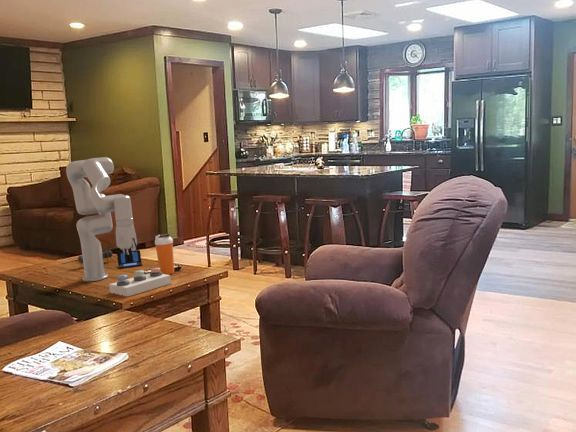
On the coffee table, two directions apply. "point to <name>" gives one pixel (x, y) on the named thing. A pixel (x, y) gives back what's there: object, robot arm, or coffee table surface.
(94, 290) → the coffee table surface
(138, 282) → the button panel
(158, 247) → the shaker bottle
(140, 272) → the button sage
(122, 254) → the object
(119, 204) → the robot arm
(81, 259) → the bomb
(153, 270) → the button terracotta
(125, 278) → the button slate
